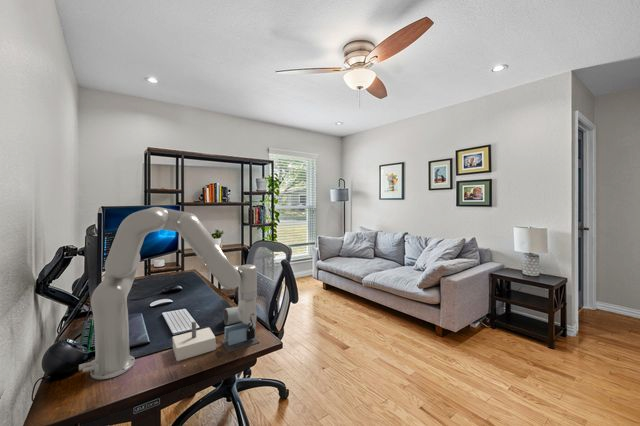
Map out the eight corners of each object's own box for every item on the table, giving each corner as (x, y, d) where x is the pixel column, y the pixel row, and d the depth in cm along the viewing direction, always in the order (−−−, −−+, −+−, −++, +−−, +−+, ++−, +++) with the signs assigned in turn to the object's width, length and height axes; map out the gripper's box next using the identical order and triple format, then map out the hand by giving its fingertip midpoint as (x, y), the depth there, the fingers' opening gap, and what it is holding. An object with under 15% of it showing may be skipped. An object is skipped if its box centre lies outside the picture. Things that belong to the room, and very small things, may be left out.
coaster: (228, 352, 109) (228, 351, 109) (221, 341, 117) (221, 340, 117) (259, 342, 117) (259, 341, 117) (250, 332, 125) (250, 331, 125)
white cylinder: (244, 323, 133) (244, 307, 133) (227, 328, 128) (227, 311, 128) (237, 315, 142) (237, 300, 141) (220, 319, 137) (220, 304, 136)
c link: (229, 345, 111) (229, 333, 111) (224, 338, 116) (224, 327, 115) (255, 337, 117) (255, 326, 117) (249, 331, 122) (249, 320, 122)
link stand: (176, 361, 103) (176, 332, 102) (172, 348, 111) (172, 322, 110) (215, 349, 111) (215, 323, 110) (209, 338, 119) (209, 313, 118)
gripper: (232, 289, 122) (232, 329, 123) (246, 303, 108) (246, 347, 109) (248, 286, 126) (248, 324, 128) (264, 299, 112) (264, 341, 114)
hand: (247, 334), depth 119 cm, fingers closed on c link, 6 cm apart
